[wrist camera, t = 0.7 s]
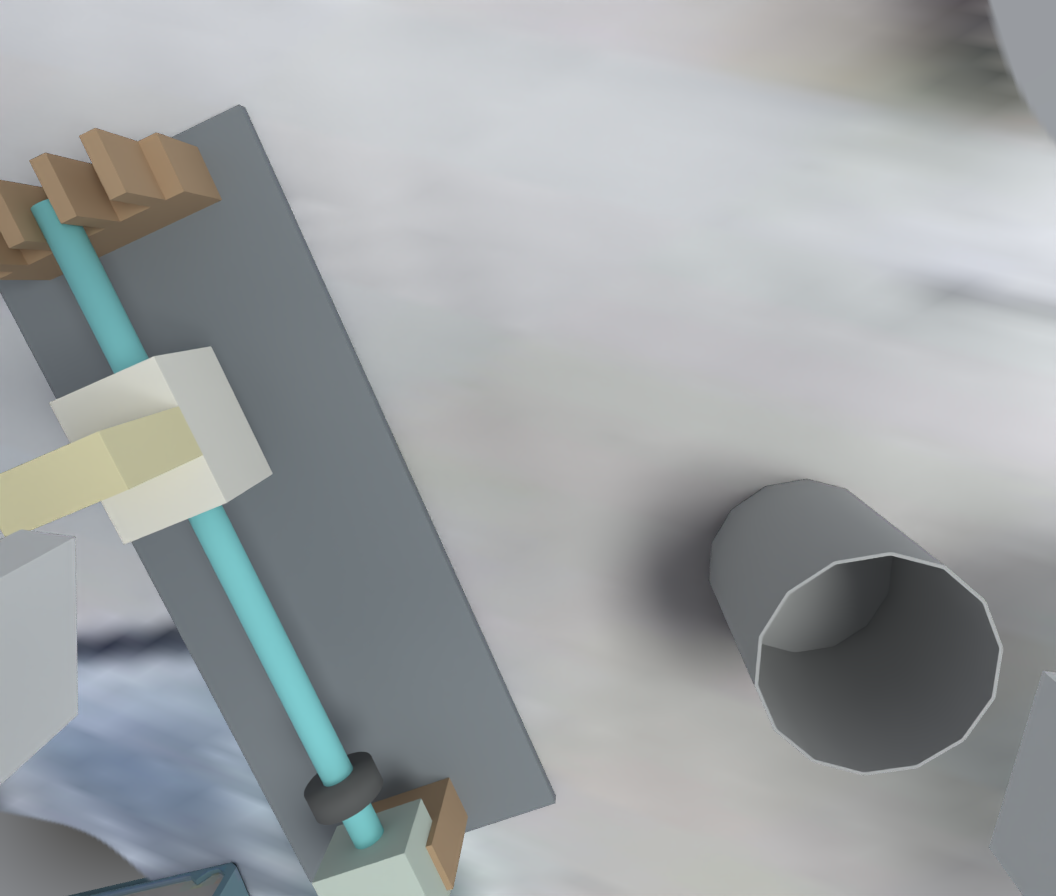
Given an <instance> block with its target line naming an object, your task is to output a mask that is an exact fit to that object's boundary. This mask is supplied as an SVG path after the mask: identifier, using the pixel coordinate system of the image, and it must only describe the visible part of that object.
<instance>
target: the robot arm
mask: <svg viewBox="0 0 1056 896" xmlns="http://www.w3.org/2000/svg"><path fill="white" fill-rule="evenodd" d="M77 715H78V685H77V613H76V541H75V537H73V536H66V535H59V534H51V533H44V532H37V531H30V530H23V529H21V530H19V531H16V532H14V533H12V534H10V535H8V536H6V537H4V538H2V539H0V785H1V784H2V783H3V782H5V781H6V780H7V779H8V778H9V777H10V776H11V775H12V774H13V773H15V772H16V771H17V770H18V769H19V768H20V767H21V766H22V765H23V764H24V763H26V762H27V761H28V760H29V759H30V758H31V757H32V756H33V755H34V754H35V753H37V752H38V751H39V750H40V749H41V748H42V747H43V746H44V745H45V744H46V743H48V742H49V741H50V740H51V739H52V738H53V737H54V736H55V735H56V734H58V733H59V732H60V731H61V730H62V729H63V728H64V727H65V726H66V725H67V724H69V723H70V722H71V721H72V720H73V719H74V718H75V717H76V716H77ZM989 848H990V850H991V851H992V852H993V854H994V855H995V857H996V858H997V859H998V861H999V862H1000V864H1001V865H1002V866H1003V868H1004V869H1005V871H1006V872H1007V874H1008V875H1009V876H1010V878H1011V879H1012V881H1013V882H1014V883H1015V885H1016V886H1017V888H1018V889H1019V890H1020V892H1021V893H1022V895H1023V896H1056V673H1055V672H1047V671H1043V672H1042V675H1041V679H1040V682H1039V685H1038V688H1037V692H1036V695H1035V698H1034V702H1033V705H1032V708H1031V711H1030V715H1029V718H1028V721H1027V725H1026V728H1025V731H1024V734H1023V738H1022V741H1021V744H1020V747H1019V751H1018V754H1017V757H1016V761H1015V764H1014V767H1013V770H1012V774H1011V777H1010V780H1009V783H1008V787H1007V790H1006V793H1005V797H1004V800H1003V803H1002V806H1001V810H1000V813H999V816H998V820H997V823H996V826H995V829H994V833H993V836H992V839H991V842H990V846H989Z"/></svg>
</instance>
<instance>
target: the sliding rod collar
mask: <svg viewBox="0 0 1056 896" xmlns="http://www.w3.org/2000/svg"><path fill="white" fill-rule="evenodd" d="M49 404H50V406H51V408H52V410H53V412H54V413H55V415H56V417H57V419H58V421H59V423H60V425H61V427H62V429H63V430H64V432H65V434H66V436H67V438H68V440H69V442H70V444H68V445H66V446H63V447H61V448H59V449H56V450H54V451H52V452H49V453H47V454H45V455H42V456H40V457H38V458H35V459H33V460H31V461H29V462H26V463H24V464H22V465H19V466H17V467H15V468H12V469H10V470H8V471H5V472H3V473H1V474H0V529H1V531H2V533H3V534H4V536H5V537H6V536H8V535H10V534H12V533H14V532H16V531H19V530H21V529H23V530H33V529H35V528H38V527H40V526H42V525H45V524H47V523H50V522H52V521H54V520H57V519H59V518H62V517H64V516H66V515H69V514H71V513H73V512H76V511H78V510H81V509H83V508H85V507H88V506H90V505H93V504H95V503H97V502H100V501H101V502H102V504H103V506H104V508H105V510H106V512H107V514H108V516H109V518H110V520H111V521H112V523H113V525H114V527H115V529H116V531H117V533H118V535H119V537H120V538H121V540H122V542H123V544H127V543H129V542H132V541H134V540H137V539H139V538H142V537H144V536H147V535H149V534H151V533H154V532H156V531H159V530H161V529H164V528H166V527H169V526H171V525H174V524H176V523H179V522H181V521H183V520H186V519H188V518H191V517H193V516H196V515H198V514H201V513H203V512H206V511H208V510H211V509H213V508H215V507H218V506H220V505H223V504H225V503H227V502H229V501H231V500H232V499H234V498H235V497H237V496H239V495H240V494H242V493H243V492H245V491H247V490H248V489H250V488H251V487H253V486H254V485H256V484H258V483H259V482H261V481H262V480H264V479H266V478H267V477H269V476H270V475H272V474H273V473H272V471H271V469H270V467H269V465H268V463H267V461H266V459H265V457H264V454H263V452H262V450H261V448H260V446H259V444H258V442H257V440H256V438H255V436H254V434H253V432H252V430H251V428H250V426H249V423H248V421H247V419H246V417H245V415H244V413H243V411H242V409H241V407H240V405H239V403H238V401H237V399H236V397H235V395H234V392H233V390H232V388H231V386H230V384H229V382H228V380H227V378H226V376H225V374H224V372H223V370H222V368H221V366H220V364H219V361H218V359H217V357H216V355H215V353H214V351H213V349H212V347H211V346H210V347H204V348H198V349H192V350H187V351H181V352H175V353H170V354H164V355H158V356H153V357H151V358H149V359H147V360H144V361H142V362H140V363H138V364H135V365H133V366H131V367H129V368H126V369H124V370H122V371H119V372H117V373H115V374H113V375H110V376H108V377H106V378H104V379H101V380H99V381H97V382H95V383H92V384H90V385H88V386H86V387H83V388H81V389H79V390H77V391H74V392H72V393H70V394H67V395H65V396H63V397H61V398H58V399H56V400H54V401H52V402H49Z"/></svg>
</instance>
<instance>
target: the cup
mask: <svg viewBox="0 0 1056 896" xmlns="http://www.w3.org/2000/svg"><path fill="white" fill-rule="evenodd" d="M709 582H710V584H711V587H712V589H713V591H714V594H715V596H716V598H717V600H718V603H719V605H720V607H721V610H722V612H723V614H724V617H725V619H726V621H727V624H728V626H729V628H730V631H731V633H732V635H733V637H734V640H735V642H736V644H737V647H738V649H739V651H740V654H741V656H742V658H743V661H744V663H745V665H746V668H747V670H748V672H749V674H750V677H751V679H752V681H753V684H754V686H755V688H756V691H757V693H758V695H759V698H760V700H761V702H762V704H763V707H764V709H765V711H766V714H767V716H768V718H769V721H770V723H771V725H772V727H773V730H774V731H775V732H776V733H777V734H779V735H780V736H781V737H782V738H784V739H785V740H786V741H787V742H788V743H790V744H791V745H792V746H793V747H795V748H796V749H797V750H798V751H799V752H801V753H802V754H803V755H804V756H806V757H807V758H808V759H809V760H810V761H812V762H814V763H817V764H821V765H825V766H829V767H833V768H837V769H840V770H844V771H848V772H852V773H856V774H859V775H863V776H864V775H871V774H878V773H886V772H893V771H900V770H907V769H914V768H918V767H920V766H922V765H924V764H925V763H927V762H929V761H930V760H932V759H934V758H936V757H937V756H939V755H941V754H943V753H944V752H946V751H948V750H949V749H951V748H953V747H955V746H956V745H958V744H960V743H961V742H963V741H965V739H966V738H967V737H968V735H969V734H970V732H971V731H972V730H973V728H974V727H975V725H976V724H977V723H978V721H979V720H980V719H981V717H982V716H983V714H984V713H985V712H986V710H987V709H988V708H989V706H990V705H991V703H992V702H993V701H994V699H995V697H996V691H997V684H998V678H999V672H1000V665H1001V659H1002V653H1003V646H1002V643H1001V641H1000V638H999V635H998V632H997V630H996V627H995V624H994V622H993V619H992V616H991V613H990V611H989V608H988V605H987V603H986V600H984V599H983V598H982V597H981V596H980V595H979V594H978V593H976V592H975V591H974V590H973V589H972V588H971V587H969V586H968V585H967V584H966V583H965V582H964V581H962V580H961V579H960V578H959V577H958V576H957V575H956V574H954V573H953V572H952V571H951V570H950V569H949V568H947V567H946V566H945V565H944V564H942V563H941V562H940V561H939V560H937V559H936V558H935V557H933V556H932V555H931V554H930V553H928V552H927V551H926V550H924V549H923V548H922V547H921V546H919V545H918V544H917V543H915V542H914V541H913V540H912V539H910V538H909V537H908V536H906V535H905V534H904V533H903V532H901V531H900V530H899V529H897V528H896V527H895V526H894V525H892V524H891V523H890V522H888V521H887V520H886V519H885V518H883V517H882V516H881V515H879V514H878V513H877V512H876V511H874V510H873V509H872V508H870V507H869V506H868V505H867V504H865V503H864V502H863V501H861V500H860V499H859V498H858V497H856V496H855V495H854V494H852V493H851V492H850V491H849V490H847V489H845V488H841V487H837V486H833V485H829V484H825V483H821V482H818V481H814V480H810V479H803V480H798V481H792V482H786V483H781V484H775V485H770V486H765V487H764V488H762V489H761V490H759V491H758V492H757V493H755V494H754V495H752V496H751V497H749V498H748V499H746V500H745V501H743V502H742V503H740V504H739V505H737V506H736V507H734V508H733V509H732V510H731V512H730V513H729V515H728V517H727V518H726V520H725V522H724V523H723V525H722V527H721V528H720V530H719V532H718V533H717V535H716V537H715V538H714V540H713V542H712V545H711V559H710V573H709Z"/></svg>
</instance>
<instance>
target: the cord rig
mask: <svg viewBox="0 0 1056 896" xmlns="http://www.w3.org/2000/svg"><path fill="white" fill-rule="evenodd" d="M79 137H80V139H81V141H82V143H83V145H84V147H85V149H86V152H87V154H88V156H89V158H90V160H91V162H92V164H90V163H86V162H82V161H78V160H73V159H69V158H65V157H61V156H57V155H53V154H49V153H44V154H42V155H40V156H38V157H36V158H34V159H32V160H30V163H31V165H32V167H33V169H34V171H35V173H36V175H37V177H38V179H39V181H40V183H41V185H42V187H38V186H32V185H26V184H21V183H15V182H9V181H3V180H0V292H1V294H2V296H3V298H4V300H5V302H6V304H7V306H8V308H9V310H10V312H11V313H12V315H13V317H14V319H15V321H16V323H17V325H18V327H19V329H20V331H21V332H22V334H23V336H24V338H25V340H26V342H27V344H28V346H29V348H30V350H31V351H32V353H33V355H34V357H35V359H36V361H37V363H38V365H39V367H40V369H41V370H42V372H43V374H44V376H45V378H46V380H47V382H48V384H49V386H50V388H51V390H52V391H53V393H54V395H55V397H56V399H58V398H61V397H63V396H65V395H67V394H70V393H72V392H74V391H77V390H79V389H81V388H83V387H86V386H88V385H90V384H92V383H95V382H97V381H99V380H101V379H104V378H106V377H108V376H110V375H113V374H115V373H117V372H119V371H122V370H124V369H126V368H129V367H131V366H133V365H135V364H138V363H140V362H142V361H144V360H147V359H149V358H151V357H153V356H158V355H164V354H170V353H175V352H181V351H187V350H192V349H198V348H204V347H210V346H211V347H212V349H213V351H214V353H215V355H216V357H217V359H218V361H219V364H220V366H221V368H222V370H223V372H224V374H225V376H226V378H227V380H228V382H229V384H230V386H231V388H232V390H233V392H234V395H235V397H236V399H237V401H238V403H239V405H240V407H241V409H242V411H243V413H244V415H245V417H246V419H247V421H248V423H249V426H250V428H251V430H252V432H253V434H254V436H255V438H256V440H257V442H258V444H259V446H260V448H261V450H262V452H263V454H264V457H265V459H266V461H267V463H268V465H269V467H270V469H271V471H272V473H273V474H272V475H270V476H269V477H267V478H266V479H264V480H262V481H261V482H259V483H258V484H256V485H254V486H253V487H251V488H250V489H248V490H247V491H245V492H243V493H242V494H240V495H239V496H237V497H235V498H234V499H232V500H231V501H229V502H227V503H225V504H223V505H220V506H218V507H215V508H213V509H211V510H208V511H206V512H203V513H201V514H198V515H196V516H193V517H191V518H188V519H186V520H183V521H181V522H179V523H176V524H174V525H171V526H169V527H166V528H164V529H161V530H159V531H156V532H154V533H151V534H149V535H147V536H144V537H142V538H139V539H137V540H134V541H132V544H133V546H134V547H135V549H136V551H137V553H138V555H139V557H140V559H141V561H142V563H143V565H144V566H145V568H146V570H147V572H148V574H149V576H150V578H151V580H152V582H153V584H154V585H155V587H156V589H157V591H158V593H159V595H160V597H161V599H162V601H163V603H164V604H165V606H166V608H167V610H168V612H169V614H170V616H171V618H172V620H173V622H174V624H175V625H176V627H177V629H178V631H179V633H180V635H181V637H182V639H183V641H184V643H185V644H186V646H187V648H188V650H189V652H190V654H191V656H192V658H193V660H194V662H195V663H196V665H197V667H198V669H199V671H200V673H201V675H202V677H203V679H204V681H205V682H206V684H207V686H208V688H209V690H210V692H211V694H212V696H213V698H214V700H215V702H216V703H217V705H218V707H219V709H220V711H221V713H222V715H223V717H224V719H225V721H226V722H227V724H228V726H229V728H230V730H231V732H232V734H233V736H234V738H235V740H236V741H237V743H238V745H239V747H240V749H241V751H242V753H243V755H244V757H245V759H246V760H247V762H248V764H249V766H250V768H251V770H252V772H253V774H254V776H255V778H256V780H257V781H258V783H259V785H260V787H261V789H262V791H263V793H264V795H265V797H266V799H267V800H268V802H269V804H270V806H271V808H272V810H273V812H274V814H275V816H276V818H277V819H278V821H279V823H280V825H281V827H282V829H283V831H284V833H285V835H286V837H287V838H288V840H289V842H290V844H291V846H292V848H293V850H294V852H295V854H296V856H297V858H298V859H299V861H300V863H301V865H302V867H303V869H304V871H305V873H306V875H307V877H308V878H309V880H310V882H312V885H313V886H314V888H315V890H316V892H317V894H318V896H450V892H451V889H453V887H454V882H455V877H456V872H457V867H458V862H459V858H460V853H461V848H462V843H463V838H464V834H465V832H468V831H471V830H474V829H477V828H480V827H484V826H487V825H490V824H493V823H496V822H499V821H502V820H505V819H508V818H511V817H514V816H517V815H520V814H524V813H527V812H530V811H533V810H536V809H539V808H542V807H545V806H548V805H551V804H554V803H555V799H556V795H555V793H554V791H553V789H552V786H551V784H550V782H549V780H548V778H547V775H546V773H545V771H544V769H543V766H542V764H541V762H540V760H539V758H538V755H537V753H536V751H535V749H534V747H533V744H532V742H531V740H530V738H529V735H528V733H527V731H526V729H525V727H524V724H523V722H522V720H521V718H520V715H519V713H518V711H517V709H516V707H515V704H514V702H513V700H512V698H511V696H510V693H509V691H508V689H507V687H506V684H505V682H504V680H503V678H502V676H501V673H500V671H499V669H498V667H497V665H496V662H495V660H494V658H493V656H492V653H491V651H490V649H489V647H488V645H487V642H486V640H485V638H484V636H483V634H482V631H481V629H480V627H479V625H478V622H477V620H476V618H475V616H474V614H473V611H472V609H471V607H470V605H469V603H468V600H467V598H466V596H465V594H464V591H463V589H462V587H461V585H460V583H459V580H458V578H457V576H456V574H455V571H454V569H453V567H452V565H451V563H450V560H449V558H448V556H447V554H446V552H445V549H444V547H443V545H442V543H441V540H440V538H439V536H438V534H437V532H436V529H435V527H434V525H433V523H432V521H431V518H430V516H429V514H428V512H427V509H426V507H425V505H424V503H423V501H422V498H421V496H420V494H419V492H418V490H417V487H416V485H415V483H414V481H413V478H412V476H411V474H410V472H409V470H408V467H407V465H406V463H405V461H404V459H403V456H402V454H401V452H400V450H399V447H398V445H397V443H396V441H395V439H394V436H393V434H392V432H391V430H390V428H389V425H388V423H387V421H386V419H385V416H384V414H383V412H382V410H381V408H380V405H379V403H378V401H377V399H376V396H375V394H374V392H373V390H372V388H371V385H370V383H369V381H368V379H367V377H366V374H365V372H364V370H363V368H362V365H361V363H360V361H359V359H358V357H357V354H356V352H355V350H354V348H353V346H352V343H351V341H350V339H349V337H348V334H347V332H346V330H345V328H344V326H343V323H342V321H341V319H340V317H339V315H338V312H337V310H336V308H335V306H334V303H333V301H332V299H331V297H330V295H329V292H328V290H327V288H326V286H325V284H324V281H323V279H322V277H321V275H320V272H319V270H318V268H317V266H316V264H315V261H314V259H313V257H312V255H311V253H310V250H309V248H308V246H307V244H306V241H305V239H304V237H303V235H302V233H301V230H300V228H299V226H298V224H297V221H296V219H295V217H294V215H293V213H292V210H291V208H290V206H289V204H288V202H287V199H286V197H285V195H284V193H283V190H282V188H281V186H280V184H279V182H278V179H277V177H276V175H275V173H274V171H273V168H272V166H271V164H270V162H269V159H268V157H267V155H266V153H265V151H264V148H263V146H262V144H261V142H260V140H259V137H258V135H257V133H256V131H255V128H254V126H253V124H252V122H251V120H250V117H249V115H248V113H247V111H246V109H245V107H243V106H241V105H237V106H235V107H233V108H231V109H229V110H227V111H225V112H223V113H221V114H219V115H217V116H215V117H213V118H211V119H209V120H207V121H204V122H202V123H200V124H198V125H196V126H194V127H192V128H190V129H188V130H186V131H184V132H182V133H180V134H178V135H176V136H174V137H168V136H165V135H162V134H159V133H154V134H152V135H150V136H148V137H146V138H144V139H142V140H140V141H135V140H132V139H129V138H125V137H122V136H119V135H116V134H113V133H110V132H106V131H103V130H100V129H97V128H94V129H92V130H90V131H88V132H86V133H84V134H82V135H80V136H79Z"/></svg>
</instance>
